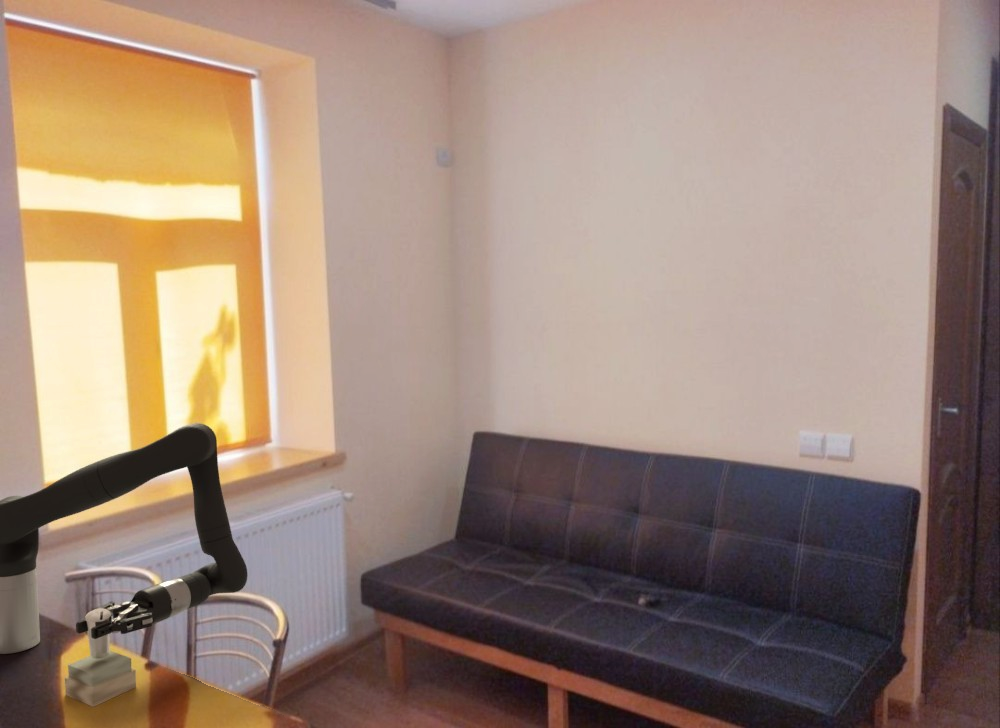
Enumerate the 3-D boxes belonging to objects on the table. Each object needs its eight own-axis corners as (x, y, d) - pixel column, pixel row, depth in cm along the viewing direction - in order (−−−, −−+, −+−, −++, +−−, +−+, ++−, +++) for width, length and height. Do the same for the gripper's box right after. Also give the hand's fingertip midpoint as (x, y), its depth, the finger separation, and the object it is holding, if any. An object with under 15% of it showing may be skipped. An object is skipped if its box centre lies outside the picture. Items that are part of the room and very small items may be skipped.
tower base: (65, 695, 154) (64, 665, 154) (108, 676, 162) (107, 647, 162) (93, 706, 150) (91, 676, 149) (136, 686, 157) (134, 657, 157)
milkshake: (91, 664, 152) (88, 614, 151) (84, 653, 156) (82, 605, 155) (116, 657, 155) (114, 608, 154) (109, 647, 159) (107, 599, 158)
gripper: (140, 578, 170) (62, 605, 156) (183, 590, 163) (106, 619, 149) (141, 611, 171) (64, 642, 156) (185, 625, 164) (108, 658, 149)
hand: (85, 631), depth 153 cm, fingers closed on milkshake, 4 cm apart
